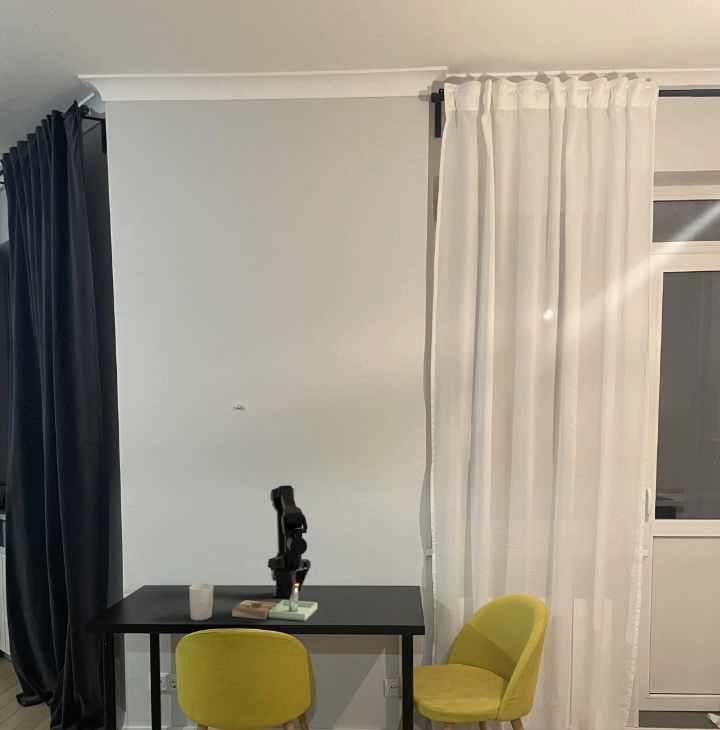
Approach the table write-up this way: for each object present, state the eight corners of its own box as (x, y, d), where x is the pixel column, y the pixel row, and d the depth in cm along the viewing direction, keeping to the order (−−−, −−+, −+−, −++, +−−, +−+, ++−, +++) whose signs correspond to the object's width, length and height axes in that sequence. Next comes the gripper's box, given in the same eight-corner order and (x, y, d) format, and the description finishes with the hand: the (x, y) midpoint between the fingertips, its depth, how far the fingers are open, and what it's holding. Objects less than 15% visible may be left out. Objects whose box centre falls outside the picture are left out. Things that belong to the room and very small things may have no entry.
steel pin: (290, 609, 202) (290, 581, 202) (300, 610, 201) (301, 582, 201) (285, 612, 198) (285, 584, 199) (296, 613, 197) (296, 585, 197)
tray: (282, 606, 207) (282, 599, 207) (317, 609, 203) (317, 602, 203) (268, 617, 195) (268, 611, 195) (304, 621, 192) (304, 614, 192)
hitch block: (244, 607, 206) (244, 600, 206) (276, 610, 202) (276, 602, 203) (232, 616, 197) (232, 608, 197) (265, 619, 194) (265, 611, 194)
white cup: (189, 622, 192) (189, 591, 193) (188, 614, 199) (189, 584, 200) (213, 619, 194) (214, 588, 195) (212, 612, 202) (213, 582, 202)
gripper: (282, 541, 212) (282, 586, 211) (259, 553, 194) (259, 602, 193) (311, 543, 209) (311, 588, 208) (291, 555, 191) (291, 604, 190)
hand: (293, 595), depth 199 cm, fingers open, 9 cm apart
